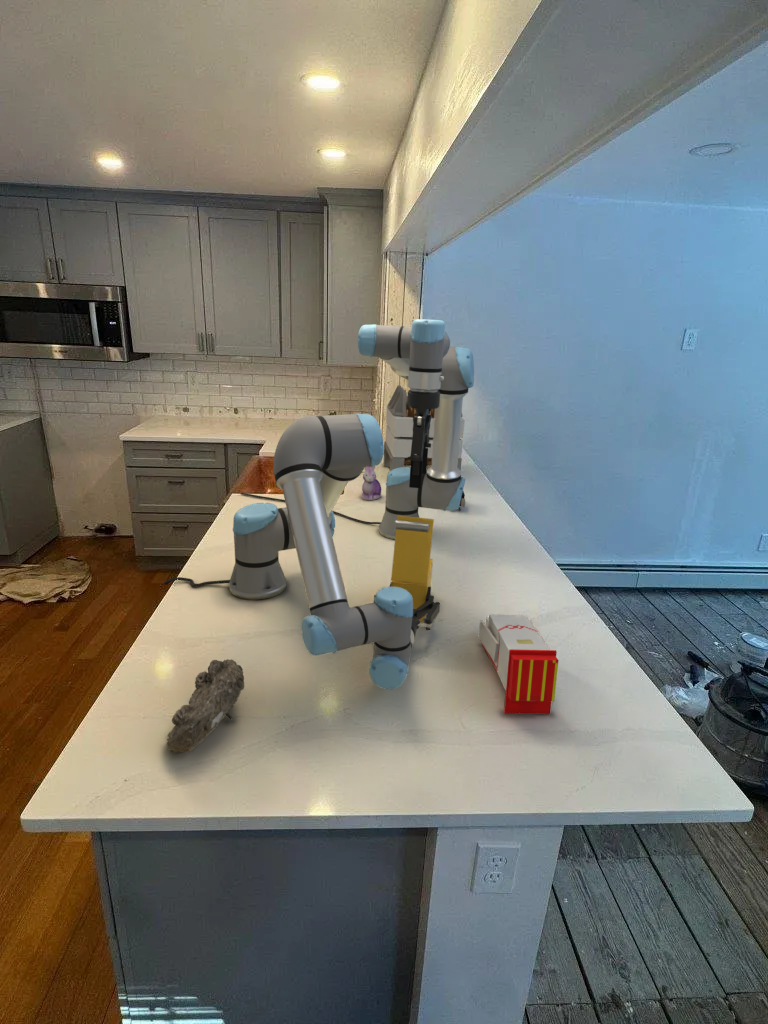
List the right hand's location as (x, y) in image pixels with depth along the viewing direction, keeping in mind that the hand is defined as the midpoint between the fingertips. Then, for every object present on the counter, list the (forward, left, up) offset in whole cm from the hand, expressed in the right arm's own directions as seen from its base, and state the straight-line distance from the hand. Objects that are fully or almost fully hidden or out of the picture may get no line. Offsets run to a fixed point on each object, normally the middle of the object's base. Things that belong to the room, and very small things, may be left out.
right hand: (418, 480), depth 138 cm
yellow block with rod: (+2, -2, -17) cm, 17 cm away
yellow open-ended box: (-1, +2, -35) cm, 35 cm away
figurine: (-78, +51, -36) cm, 100 cm away
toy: (+34, -1, -36) cm, 49 cm away
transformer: (-94, +94, -36) cm, 138 cm away
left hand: (+1, -1, -29) cm, 29 cm away
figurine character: (-50, +72, -36) cm, 95 cm away
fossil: (+8, -59, -36) cm, 69 cm away
